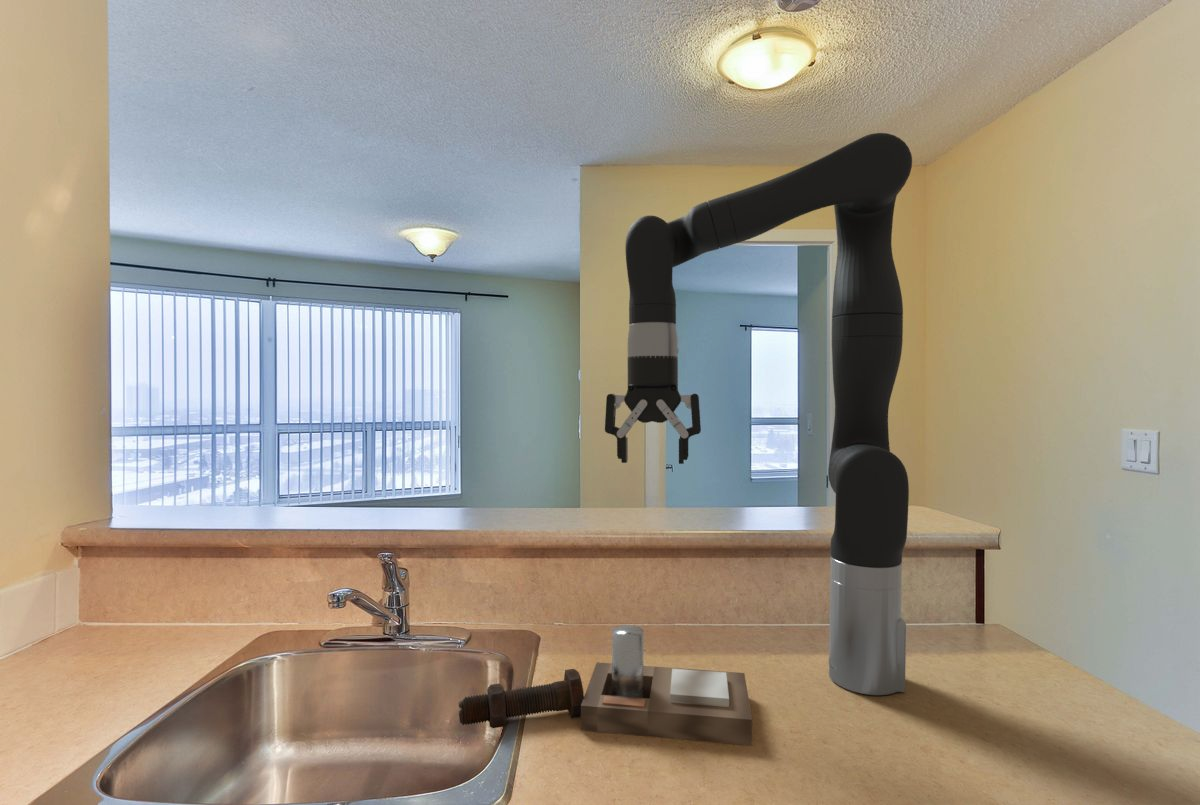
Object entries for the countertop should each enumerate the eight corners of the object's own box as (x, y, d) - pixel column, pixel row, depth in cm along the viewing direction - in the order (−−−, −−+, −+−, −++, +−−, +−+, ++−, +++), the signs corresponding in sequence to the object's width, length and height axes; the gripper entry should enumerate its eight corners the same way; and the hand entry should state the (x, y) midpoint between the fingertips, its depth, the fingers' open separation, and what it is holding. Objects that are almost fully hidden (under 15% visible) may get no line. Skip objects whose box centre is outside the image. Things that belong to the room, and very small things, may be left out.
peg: (644, 701, 82) (644, 626, 82) (641, 717, 78) (642, 638, 78) (613, 699, 82) (614, 624, 82) (609, 714, 78) (610, 635, 78)
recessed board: (744, 695, 84) (744, 665, 84) (752, 745, 72) (752, 711, 72) (596, 683, 87) (596, 655, 87) (580, 730, 75) (580, 697, 75)
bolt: (459, 739, 76) (579, 718, 80) (460, 738, 72) (586, 717, 76) (457, 687, 79) (573, 670, 83) (458, 683, 75) (580, 665, 79)
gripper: (601, 354, 91) (602, 465, 91) (700, 352, 89) (700, 466, 89) (609, 357, 99) (609, 459, 99) (700, 355, 96) (700, 460, 97)
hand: (652, 462), depth 94 cm, fingers open, 8 cm apart
